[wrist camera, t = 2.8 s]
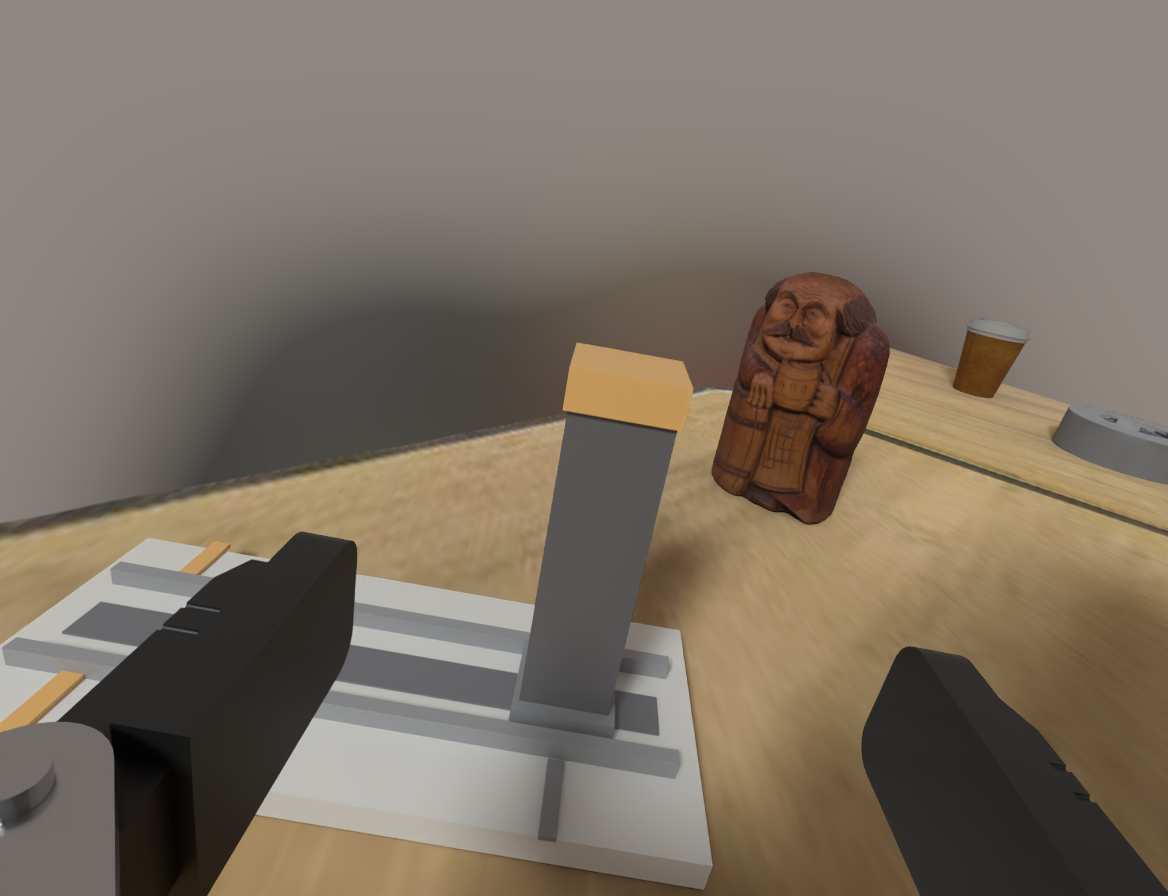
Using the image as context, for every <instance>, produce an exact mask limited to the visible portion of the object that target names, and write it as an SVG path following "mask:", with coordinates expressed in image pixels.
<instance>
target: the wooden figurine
mask: <svg viewBox="0 0 1168 896" xmlns="http://www.w3.org/2000/svg"><path fill="white" fill-rule="evenodd" d="M765 300H766V304H764V305H763V306H762V307H761V308H760V309H759V310H758V311H757V313H756V315H755V316H754V319H753V322H752V325H751V328H750V331H749V334H748V338H747V341H746V344H745V348H744V352H743V355H742V359H741V363H740V367H739V371H738V377H737V379H736V382H735V384H734V388H733V392H732V396H731V399H730V403H729V406H728V410H727V413H726V417H725V421H724V425H723V429H722V433H721V436H720V440H719V443H718V448H717V451H716V455H715V458H714V461H713V466H712V475H713V477H714V480H715V481H716V482H717V483H718V484H719V485H720V486H721V487H722V488H723V489H724V490H726V491H728V492H729V493H731V494H733V495H741V496H744V497H746V498H747V499H749V500H750V501H751V502H753V503H755V504H760V505H762V506H764V507H765V508H767V509H769V510H772V511H785V512H789V513H791V514H793V515H795V516H796V517H798V518H799V519H800V520H801V521H803V522H804V523H807V524H812V523H819V522H820V521H822V520H824V519H826V517H827V516H828V515H830V514H831V513H832V511H833V510H834V507H835V504H836V501H837V499H838V496H839V493H840V490H841V487H842V485H843V482H844V480H845V478H846V475H847V472H848V469H849V466H850V464H851V460H852V456H853V453H854V450H855V448H856V447H857V445H858V443H859V441H860V439H861V437H862V435H863V433H864V431H865V429H866V426H867V423H868V421H869V418H870V416H871V413H872V410H873V408H874V405H875V402H876V400H877V397H878V394H879V391H880V387H881V384H882V381H883V378H884V374H885V371H886V367H887V363H888V358H889V355H890V350H889V341H888V337H887V336H886V335H885V334H884V333H883V332H882V331H881V330H880V328H879V327H877V326H876V322H877V319H876V314H875V311H874V309H873V307H872V306H871V304H870V302H869V300H868V299H867V297H866V296H865V295H864V293H863V292H862V291H861V290H860V289H859V288H858V287H856V286H855V285H854V284H853V283H851V282H849V281H847V280H845V279H843V278H840V277H836V276H832V275H827V274H822V273H815V272H810V273H803V274H797V275H793V276H790V277H787V278H785V279H783V280H781V281H779V282H777V283H776V284H775V285H774V286H773V288H771V289H770V290H769V292H768V293H767V295H766V298H765Z"/></svg>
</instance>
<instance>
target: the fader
mask: <svg viewBox="0 0 1168 896" xmlns="http://www.w3.org/2000/svg"><path fill="white" fill-rule="evenodd" d="M692 393H693V387H692V384H691V381H690V379H689V376H688V374H687V371H686V368H685V366H684V363H683V362H682V361H677V360H671V359H665V358H660V357H654V356H648V355H643V354H638V353H632V352H627V351H621V350H615V349H610V348H604V347H598V346H593V345H588V344H582V343H577V344H576V348H575V351H574V354H573V358H572V361H571V365H570V369H569V375H568V381H567V387H566V393H565V399H564V406H563V410H564V411H567V417H566V423H565V429H564V435H563V441H562V447H561V453H560V459H559V465H558V471H557V477H556V483H555V489H554V495H553V501H552V507H551V513H550V519H549V524H548V530H547V536H546V542H545V548H544V554H543V560H542V566H541V572H540V578H539V584H538V590H537V596H536V602H535V608H534V614H533V620H532V626H531V632H530V637H529V640H525V643H524V648H523V653H522V657H521V662H520V667H519V671H518V676H517V681H516V685H515V690H514V695H513V699H512V704H511V709H510V715H509V721H510V722H516V723H522V724H528V725H533V726H539V727H545V728H551V729H557V730H563V731H568V732H574V733H580V734H586V735H592V736H598V737H604V738H609V739H612V735H613V731H614V727H615V686H616V682H617V678H618V674H619V669H620V665H621V661H622V657H623V653H624V649H625V645H626V640H627V636H628V632H629V628H630V624H631V620H632V616H633V611H634V607H635V603H636V599H637V595H638V591H639V587H640V583H641V578H642V574H643V570H644V566H645V562H646V558H647V554H648V549H649V545H650V541H651V537H652V533H653V529H654V525H655V520H656V516H657V512H658V508H659V504H660V500H661V496H662V491H663V487H664V483H665V479H666V475H667V471H668V467H669V462H670V458H671V454H672V450H673V446H674V442H675V438H676V434H677V431H682V432H683V430H684V425H685V421H686V417H687V413H688V409H689V405H690V401H691V397H692Z"/></svg>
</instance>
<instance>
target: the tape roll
mask: <svg viewBox="0 0 1168 896" xmlns="http://www.w3.org/2000/svg"><path fill="white" fill-rule="evenodd" d="M1052 440H1053V442H1054V443H1055V444H1056V445H1057V446H1059V447H1060V448H1062V449H1063V450H1065V451H1067V452H1069V453H1071V454H1073V455H1075V456H1077V457H1080V458H1082V459H1084V460H1087V461H1089V462H1092V463H1094V464H1097V465H1100V466H1103V467H1105V468H1108V469H1111V470H1114V471H1117V472H1121V473H1124V474H1127V475H1130V476H1134V477H1138V478H1141V479H1145V480H1149V481H1154V482H1158V483H1163V484H1168V427H1165V426H1162V425H1159V424H1156V423H1153V422H1150V421H1147V420H1143V419H1140V418H1136V417H1133V416H1129V415H1125V414H1121V413H1117V412H1113V411H1109V410H1104V409H1100V408H1094V407H1088V406H1080V405H1072V406H1070V407H1069V408H1068V410H1067V412H1066V413H1065V415H1064V417H1063V419H1062V421H1061V423H1060V425H1059V427H1058V429H1057V431H1056V432H1055V434H1054V436H1053V439H1052Z"/></svg>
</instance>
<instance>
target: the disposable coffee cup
mask: <svg viewBox="0 0 1168 896" xmlns="http://www.w3.org/2000/svg"><path fill="white" fill-rule="evenodd" d="M967 326H968V327H967V330H968V331H967V335H966V339H965V343H964V347H963V350H962V354H961V358H960V362H959V366H958V369H957V373H956V377H955V381H954V385H953V387H954V388H955V389H957V390H960V391H962V392H965V393H968V394H971V395H975V396H980V397H986V398H992V397H993V396H994V394H995V393H996V391H997V389H998V388H999V386H1000V384H1001V383H1002V381H1003V379H1004V378H1005V376H1006V374H1007V373H1008V371H1009V369H1010V368H1011V366H1012V364H1013V363H1014V361H1015V360H1016V358H1017V356H1018V355H1019V353H1020V351H1021V350H1022V348H1023V346H1024V344H1025V343H1027V341H1028V340H1030V339H1031V338H1029V337H1030V330H1029V329H1026V328H1023V327H1019V326H1016V325H1012V324H1007V323H1003V322H999V321H994V320H988V319H983V318H972V320H971V321H970V323H969V324H967Z"/></svg>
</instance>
